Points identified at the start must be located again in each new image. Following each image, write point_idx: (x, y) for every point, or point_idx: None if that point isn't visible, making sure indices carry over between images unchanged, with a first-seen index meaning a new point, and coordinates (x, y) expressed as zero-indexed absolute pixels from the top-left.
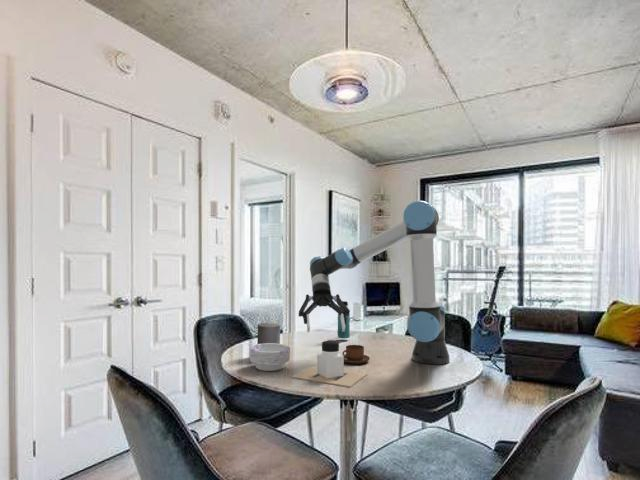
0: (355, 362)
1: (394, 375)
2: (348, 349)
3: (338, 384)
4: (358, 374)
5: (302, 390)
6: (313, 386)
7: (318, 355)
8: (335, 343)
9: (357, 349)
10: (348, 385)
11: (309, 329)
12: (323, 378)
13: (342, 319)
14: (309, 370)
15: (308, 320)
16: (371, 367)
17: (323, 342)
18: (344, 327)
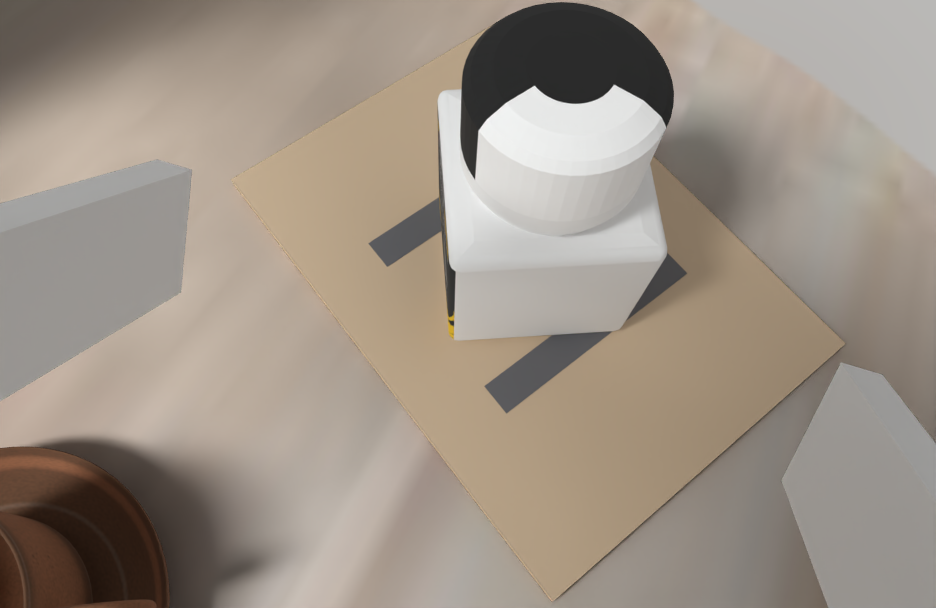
0: (101, 477)
1: (57, 101)
2: (39, 596)
3: None
4: (307, 188)
5: (821, 84)
6: (730, 119)
7: (662, 225)
8: (543, 4)
9: None
10: None
11: (824, 405)
12: None
13: (55, 212)
14: (647, 453)
15: (933, 473)
16: None
17: (665, 84)
18: (173, 169)
